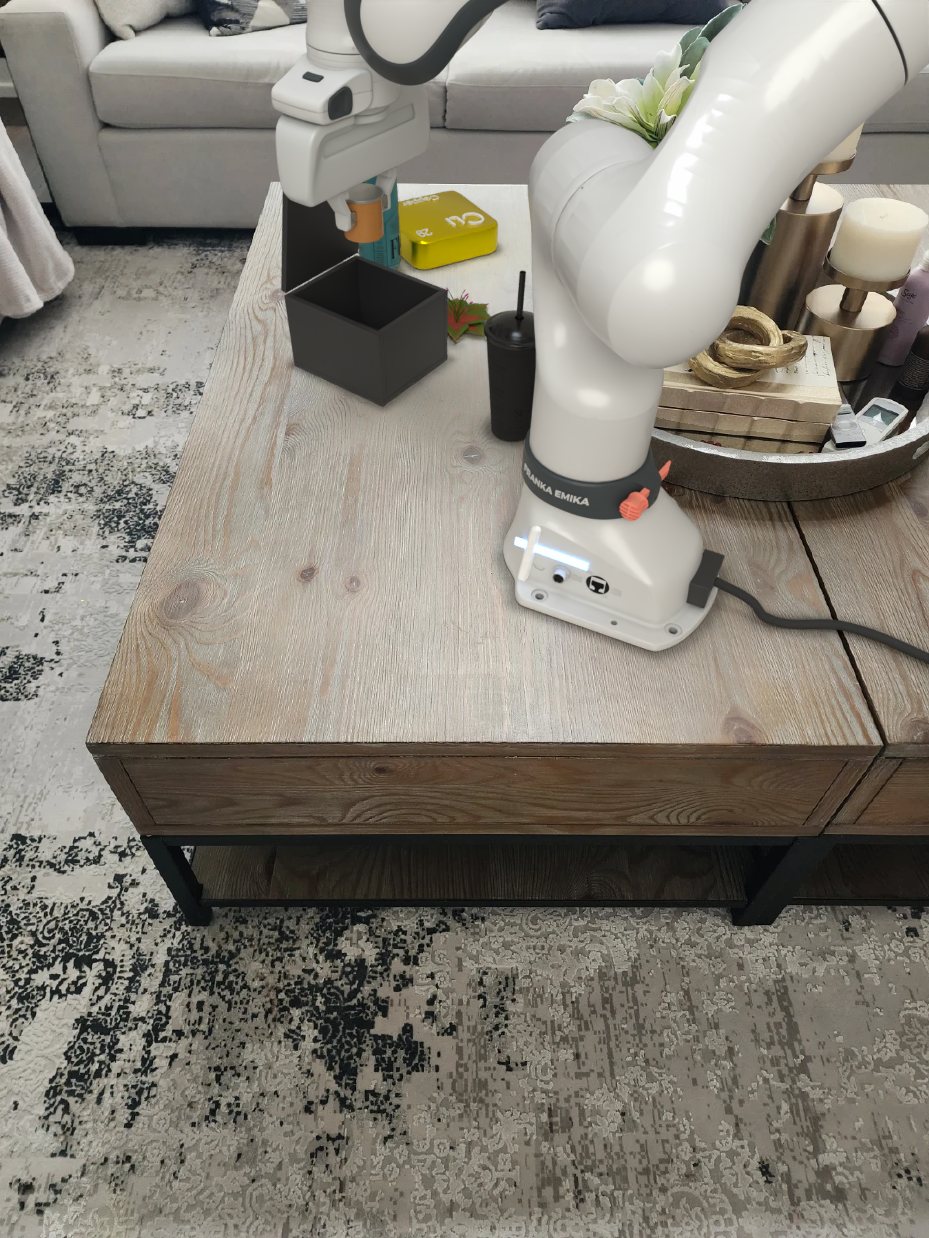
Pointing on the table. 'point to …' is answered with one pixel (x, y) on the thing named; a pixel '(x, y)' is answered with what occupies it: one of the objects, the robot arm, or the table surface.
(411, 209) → the element tile
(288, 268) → the lid
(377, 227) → the coffee pod
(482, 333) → the lily flower
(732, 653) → the table surface
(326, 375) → the black tray bin
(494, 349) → the drinking cup
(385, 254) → the beverage bottle
